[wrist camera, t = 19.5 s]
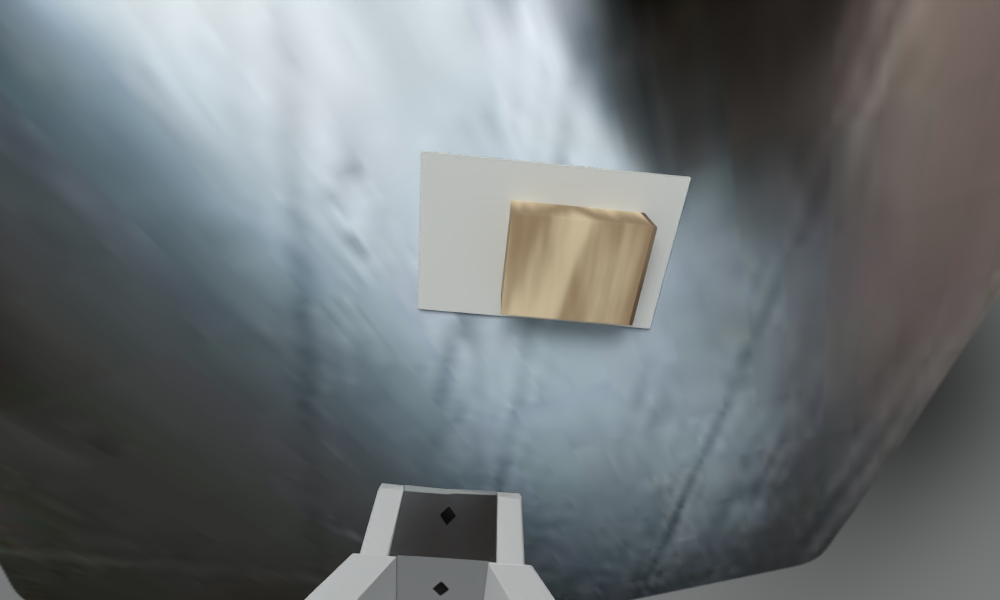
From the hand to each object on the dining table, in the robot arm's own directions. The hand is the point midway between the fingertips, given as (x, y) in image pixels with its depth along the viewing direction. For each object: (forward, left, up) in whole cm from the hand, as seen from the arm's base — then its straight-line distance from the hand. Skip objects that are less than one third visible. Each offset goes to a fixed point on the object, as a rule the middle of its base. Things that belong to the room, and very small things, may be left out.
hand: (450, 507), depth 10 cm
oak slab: (-2, +5, -27) cm, 28 cm away
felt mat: (-5, +4, -29) cm, 30 cm away
